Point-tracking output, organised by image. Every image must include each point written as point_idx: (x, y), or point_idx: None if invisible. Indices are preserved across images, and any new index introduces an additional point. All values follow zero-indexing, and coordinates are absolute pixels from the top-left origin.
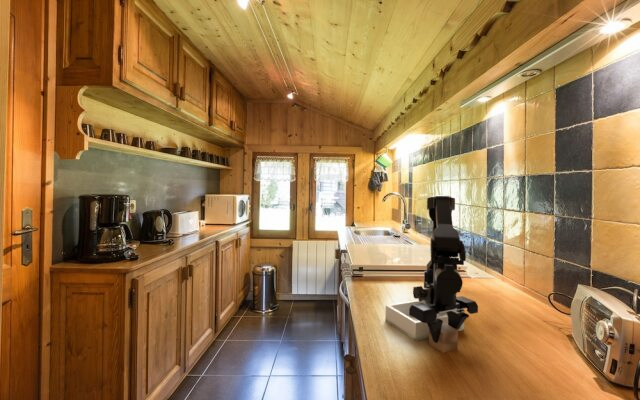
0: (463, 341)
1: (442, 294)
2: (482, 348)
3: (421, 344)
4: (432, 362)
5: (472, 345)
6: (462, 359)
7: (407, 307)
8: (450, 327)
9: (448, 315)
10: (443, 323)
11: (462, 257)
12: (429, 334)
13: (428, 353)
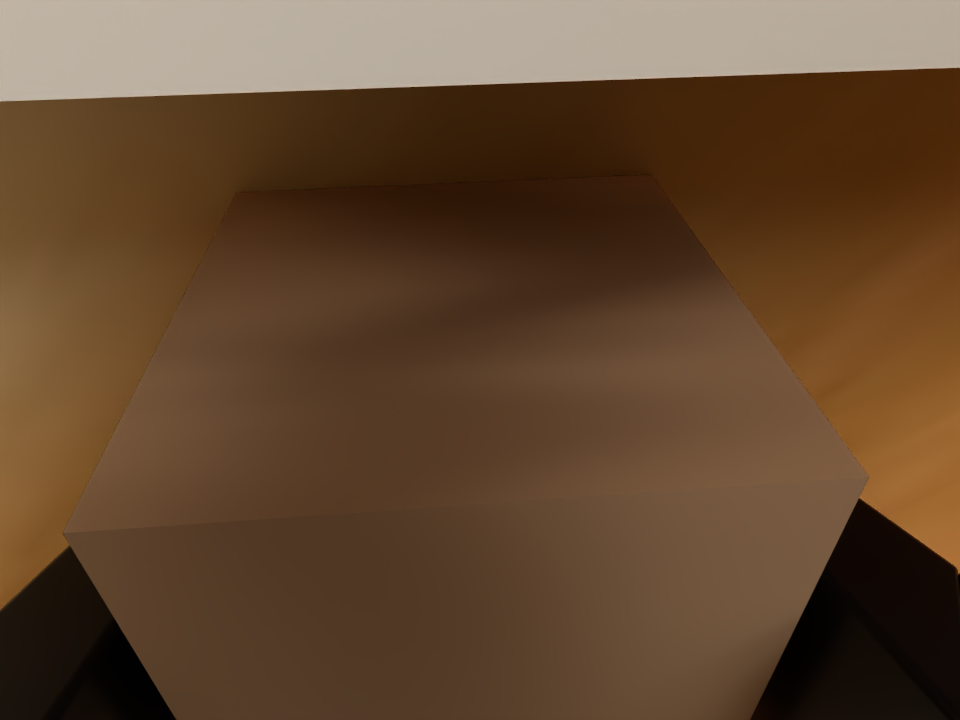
0: (936, 328)
1: None
2: (918, 524)
3: (31, 166)
4: (10, 598)
5: (903, 448)
6: None
7: None
8: (690, 710)
9: None
10: (772, 530)
11: None
12: (175, 326)
13: (46, 449)
